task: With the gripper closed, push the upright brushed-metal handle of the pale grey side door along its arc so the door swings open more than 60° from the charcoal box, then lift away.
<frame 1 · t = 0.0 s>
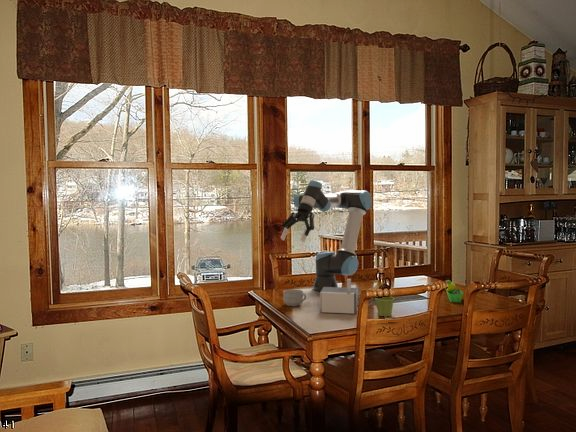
hand: (292, 240, 241), 36 cm above the table, tool tilted 35°, fingers open, 13 cm apart
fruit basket: (453, 300, 255), on the table
plant pot: (384, 315, 227), on the table
door: (336, 295, 231), point 9 cm above the table, hinge at 0.0°
box housing: (339, 309, 239), on the table
teacup: (295, 306, 248), on the table
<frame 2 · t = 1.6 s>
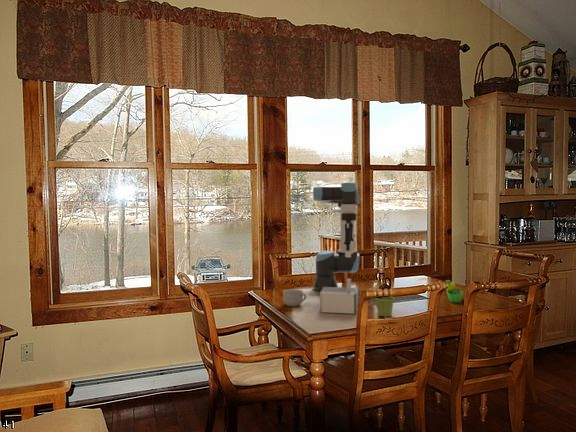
hand: (349, 255, 235), 28 cm above the table, tool pointing down, fingers open, 12 cm apart
nothing on the table moved.
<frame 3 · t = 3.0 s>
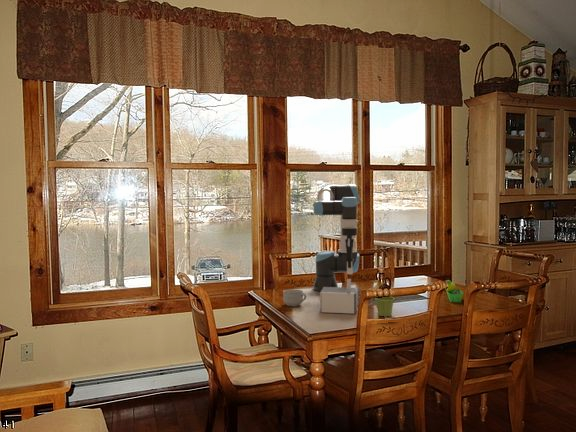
hand: (349, 273, 235), 19 cm above the table, tool pointing down, fingers closed
nothing on the table moved.
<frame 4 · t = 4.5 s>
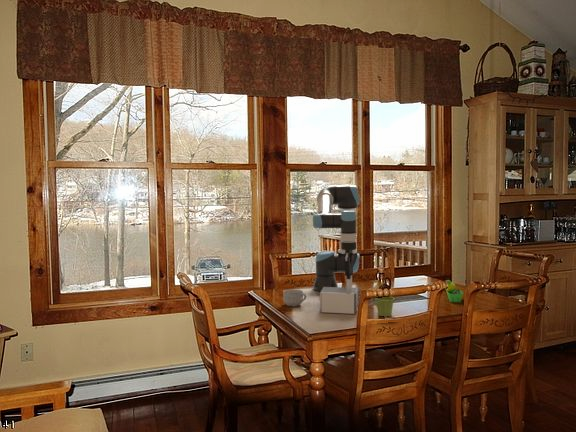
hand: (349, 288, 233), 12 cm above the table, tool pointing down, fingers closed
door: (336, 295, 231), point 9 cm above the table, hinge at 1.6°, touching gripper
everything else where it was.
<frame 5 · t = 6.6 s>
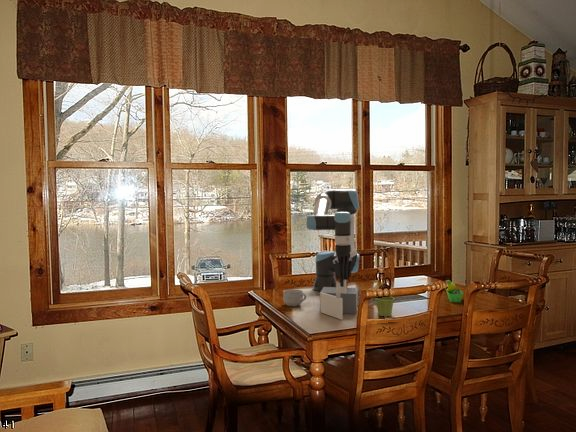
hand: (343, 292, 223), 12 cm above the table, tool pointing down, fingers closed
door: (330, 298, 226), point 9 cm above the table, hinge at 46.0°, touching gripper
everything else where it was.
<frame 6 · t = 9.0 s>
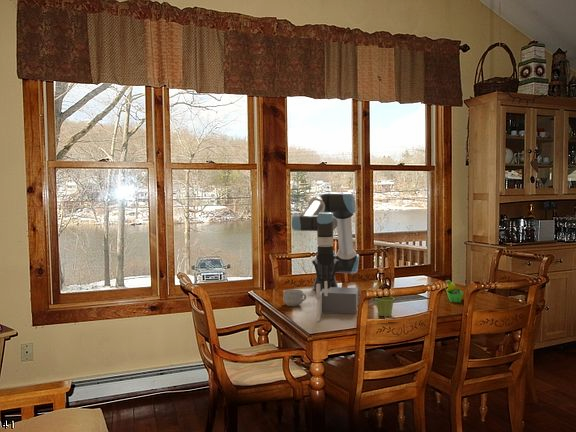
hand: (325, 295, 219), 12 cm above the table, tool pointing down, fingers closed
door: (319, 298, 225), point 9 cm above the table, hinge at 87.1°, touching gripper
everything else where it was.
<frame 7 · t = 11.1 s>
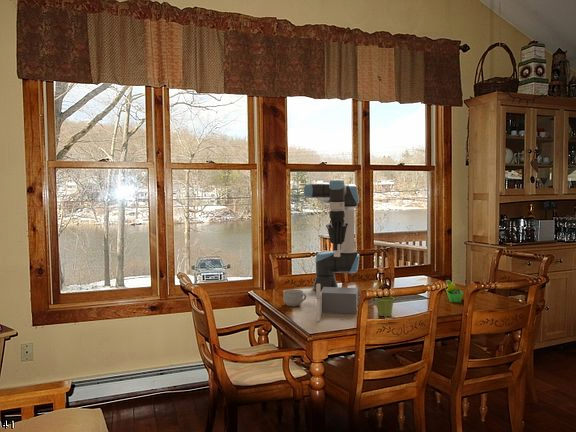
hand: (337, 256, 235), 28 cm above the table, tool pointing down, fingers closed
door: (319, 298, 225), point 9 cm above the table, hinge at 87.1°
everything else where it was.
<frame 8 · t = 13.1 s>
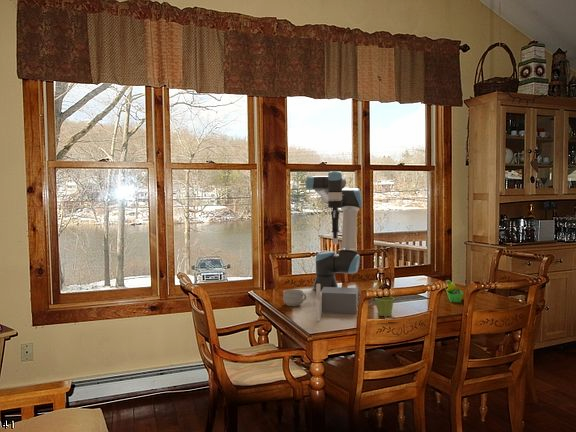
hand: (335, 244, 250), 32 cm above the table, tool pointing down, fingers closed
nothing on the table moved.
at the end: door at +87° (first picture: +0°); teacup moved 0.3 cm from its start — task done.
